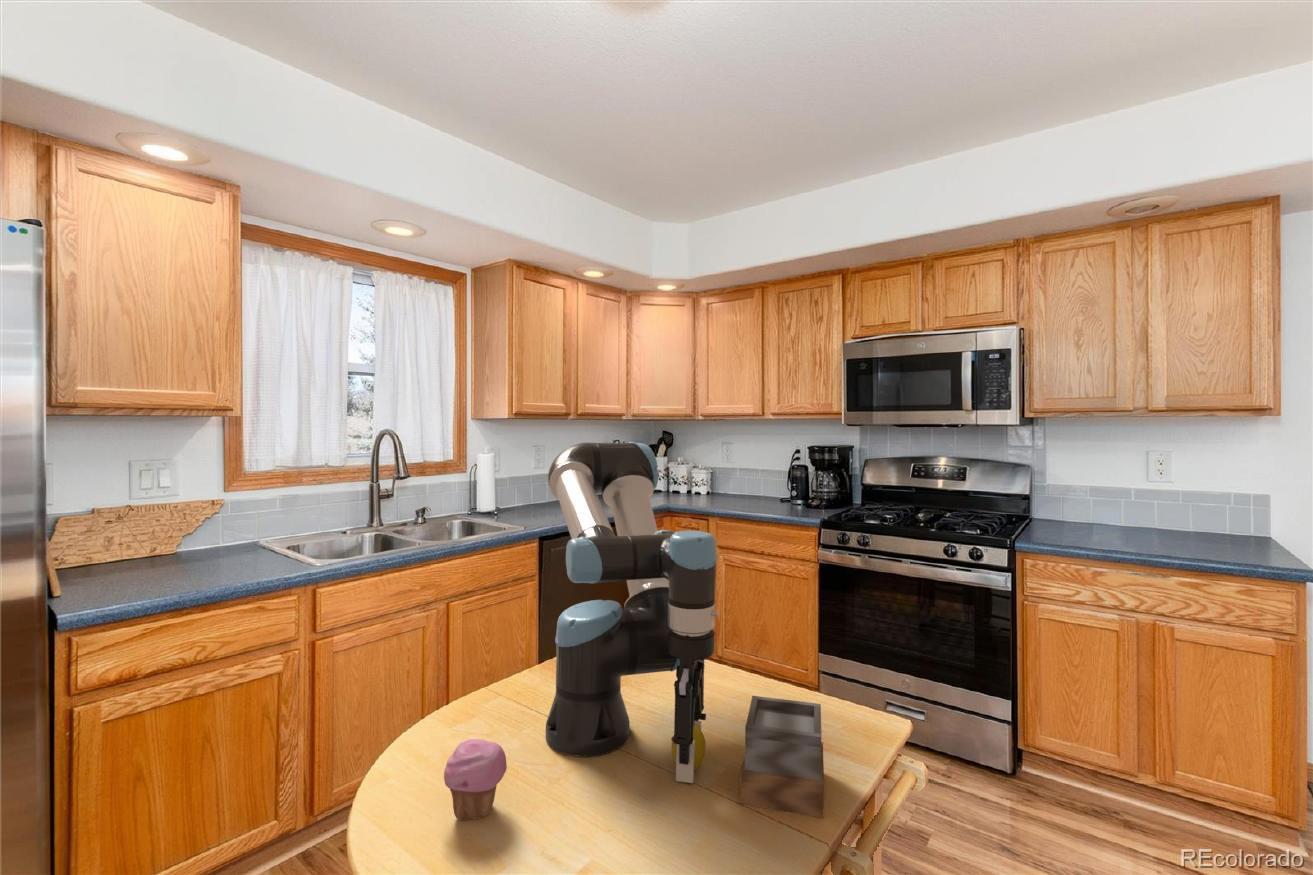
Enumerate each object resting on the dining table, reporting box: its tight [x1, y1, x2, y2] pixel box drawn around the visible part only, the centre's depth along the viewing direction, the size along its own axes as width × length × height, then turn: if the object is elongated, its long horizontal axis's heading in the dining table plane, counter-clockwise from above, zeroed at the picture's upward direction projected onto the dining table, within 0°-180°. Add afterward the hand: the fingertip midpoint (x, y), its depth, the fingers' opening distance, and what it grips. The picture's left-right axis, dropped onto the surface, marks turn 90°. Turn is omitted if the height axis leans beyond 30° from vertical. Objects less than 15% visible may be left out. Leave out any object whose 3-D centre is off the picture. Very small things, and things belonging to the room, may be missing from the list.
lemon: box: [671, 725, 707, 770], centre depth 101 cm, size 6×6×8 cm
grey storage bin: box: [739, 695, 825, 819], centre depth 97 cm, size 12×12×12 cm
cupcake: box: [443, 738, 508, 821], centre depth 90 cm, size 9×9×10 cm
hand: (688, 769), depth 101 cm, fingers closed on lemon, 5 cm apart
